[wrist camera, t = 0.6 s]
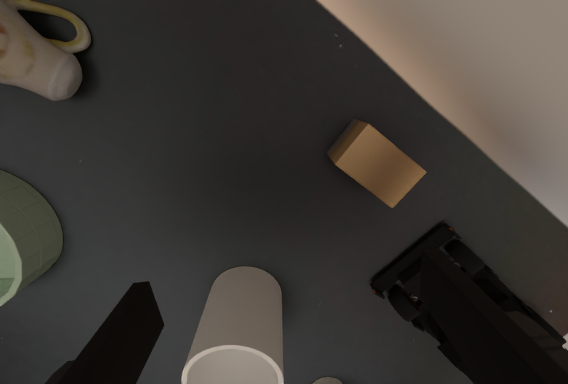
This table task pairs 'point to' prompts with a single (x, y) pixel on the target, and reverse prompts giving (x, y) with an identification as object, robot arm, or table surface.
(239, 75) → the table surface
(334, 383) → the beverage cup
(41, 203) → the bowl
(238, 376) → the cup
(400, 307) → the toy truck
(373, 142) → the eraser
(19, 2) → the mug
